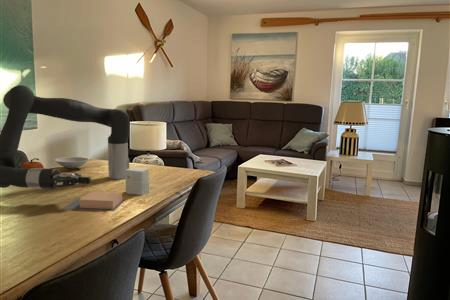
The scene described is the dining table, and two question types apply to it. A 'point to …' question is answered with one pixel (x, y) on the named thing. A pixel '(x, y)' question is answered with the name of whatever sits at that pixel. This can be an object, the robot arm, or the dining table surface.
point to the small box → (137, 181)
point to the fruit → (32, 164)
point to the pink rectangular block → (100, 200)
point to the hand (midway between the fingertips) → (89, 180)
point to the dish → (72, 161)
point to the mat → (76, 206)
